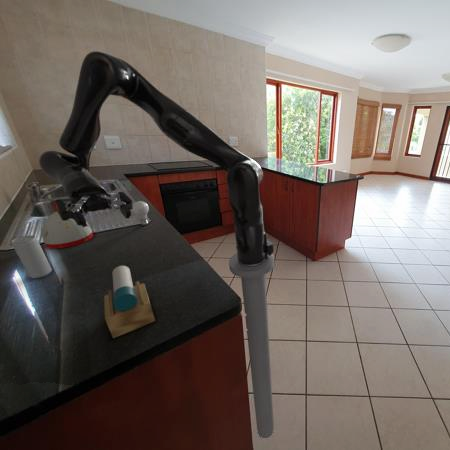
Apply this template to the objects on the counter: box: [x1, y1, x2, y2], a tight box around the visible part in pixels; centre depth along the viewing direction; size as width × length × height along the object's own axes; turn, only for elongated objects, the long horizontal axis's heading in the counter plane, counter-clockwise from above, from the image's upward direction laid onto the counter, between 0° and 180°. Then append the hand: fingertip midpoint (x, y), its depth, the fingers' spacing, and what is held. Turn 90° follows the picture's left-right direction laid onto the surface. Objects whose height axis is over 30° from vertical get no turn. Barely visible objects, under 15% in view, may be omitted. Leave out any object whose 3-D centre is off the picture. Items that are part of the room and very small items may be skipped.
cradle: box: [103, 280, 156, 339], centre depth 55 cm, size 8×9×6 cm
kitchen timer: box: [40, 202, 94, 249], centre depth 89 cm, size 14×14×15 cm
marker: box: [111, 265, 137, 311], centre depth 55 cm, size 15×4×4 cm, turn 38°
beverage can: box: [11, 235, 53, 279], centre depth 69 cm, size 5×5×12 cm
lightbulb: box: [131, 200, 150, 226], centre depth 104 cm, size 6×6×11 cm
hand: (107, 219), depth 57 cm, fingers open, 8 cm apart
